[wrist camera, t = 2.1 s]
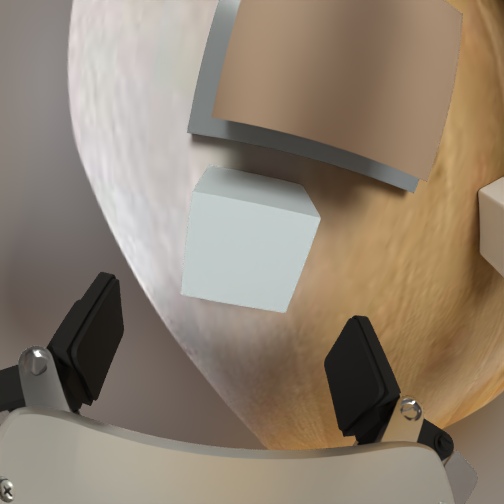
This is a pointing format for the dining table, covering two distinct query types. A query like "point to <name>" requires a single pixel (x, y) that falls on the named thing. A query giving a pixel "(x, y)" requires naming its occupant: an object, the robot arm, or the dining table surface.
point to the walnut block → (346, 74)
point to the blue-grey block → (247, 239)
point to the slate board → (260, 135)
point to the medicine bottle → (492, 223)
